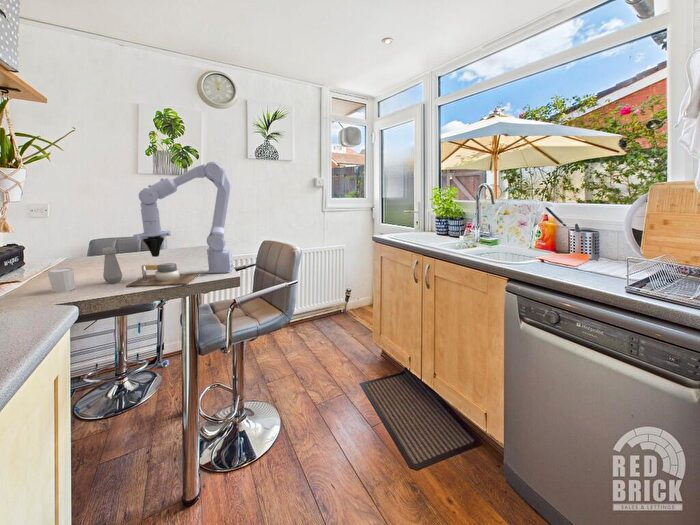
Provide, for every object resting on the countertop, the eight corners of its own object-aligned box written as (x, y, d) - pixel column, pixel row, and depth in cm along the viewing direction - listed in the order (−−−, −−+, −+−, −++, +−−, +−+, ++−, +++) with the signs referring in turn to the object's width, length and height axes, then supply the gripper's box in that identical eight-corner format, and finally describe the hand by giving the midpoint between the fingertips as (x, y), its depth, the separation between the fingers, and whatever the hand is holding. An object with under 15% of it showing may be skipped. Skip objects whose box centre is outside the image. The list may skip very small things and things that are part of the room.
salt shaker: (113, 284, 120) (108, 249, 118) (100, 283, 121) (94, 248, 119) (127, 280, 126) (122, 246, 123) (114, 279, 127) (109, 246, 124)
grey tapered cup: (61, 287, 116) (57, 268, 115) (82, 287, 117) (78, 267, 115) (45, 293, 110) (41, 272, 108) (67, 292, 110) (63, 272, 109)
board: (199, 274, 135) (199, 273, 135) (186, 284, 120) (186, 283, 120) (146, 276, 132) (146, 274, 132) (126, 287, 117) (126, 285, 117)
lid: (180, 268, 129) (179, 262, 128) (171, 272, 122) (170, 266, 122) (148, 268, 129) (147, 262, 128) (138, 272, 122) (137, 266, 122)
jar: (183, 275, 130) (182, 267, 130) (175, 280, 123) (174, 272, 122) (161, 276, 129) (160, 268, 129) (152, 281, 122) (151, 273, 121)
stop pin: (151, 282, 123) (149, 265, 122) (148, 284, 120) (145, 266, 119) (143, 282, 123) (140, 265, 121) (139, 284, 120) (137, 267, 119)
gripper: (159, 219, 134) (163, 252, 137) (125, 222, 121) (130, 259, 124) (173, 219, 132) (176, 253, 135) (139, 222, 119) (144, 260, 121)
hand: (155, 256), depth 129 cm, fingers closed
